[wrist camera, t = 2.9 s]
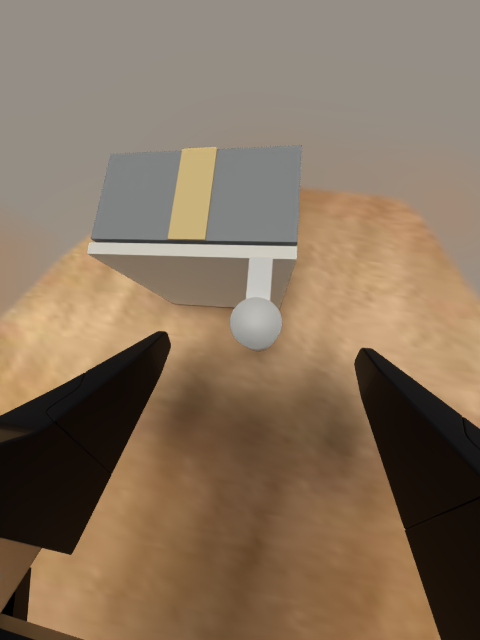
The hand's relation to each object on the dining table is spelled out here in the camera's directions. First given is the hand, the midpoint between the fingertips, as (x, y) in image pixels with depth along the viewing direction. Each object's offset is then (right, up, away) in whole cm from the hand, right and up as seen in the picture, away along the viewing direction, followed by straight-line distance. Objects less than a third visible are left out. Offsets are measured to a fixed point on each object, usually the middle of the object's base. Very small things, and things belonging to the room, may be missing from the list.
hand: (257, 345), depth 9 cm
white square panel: (-2, +1, +9) cm, 9 cm away
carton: (-2, +6, +10) cm, 12 cm away
